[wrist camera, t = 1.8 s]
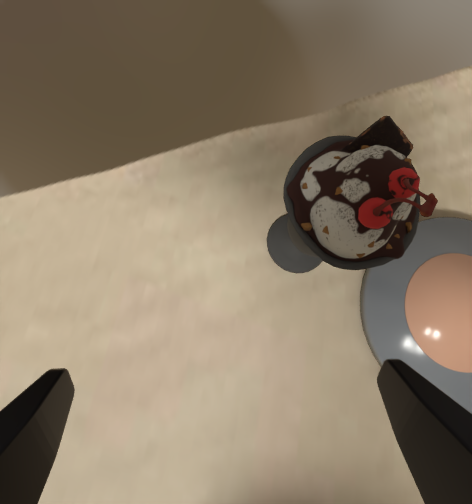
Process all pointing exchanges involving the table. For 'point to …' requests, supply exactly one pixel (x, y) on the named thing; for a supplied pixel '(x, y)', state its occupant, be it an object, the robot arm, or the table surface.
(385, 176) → the sundae
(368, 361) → the table surface
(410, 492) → the table surface
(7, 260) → the table surface
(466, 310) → the dessert plate
